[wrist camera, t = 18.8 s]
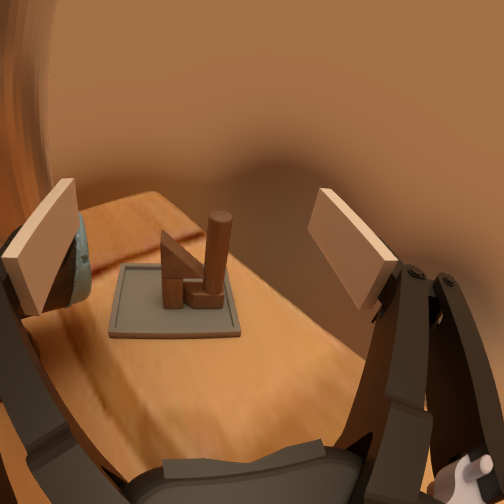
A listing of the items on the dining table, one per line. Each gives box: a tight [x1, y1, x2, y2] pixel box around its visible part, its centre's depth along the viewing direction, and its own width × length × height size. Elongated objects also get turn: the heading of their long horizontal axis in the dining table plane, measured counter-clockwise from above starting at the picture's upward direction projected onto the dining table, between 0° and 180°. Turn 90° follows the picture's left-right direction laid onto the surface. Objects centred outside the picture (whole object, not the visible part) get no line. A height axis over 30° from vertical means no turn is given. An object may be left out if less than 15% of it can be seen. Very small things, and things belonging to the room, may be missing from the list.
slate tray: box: [108, 263, 241, 339], centre depth 51 cm, size 22×18×2 cm
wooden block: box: [161, 210, 233, 309], centre depth 46 cm, size 4×11×18 cm, turn 102°
